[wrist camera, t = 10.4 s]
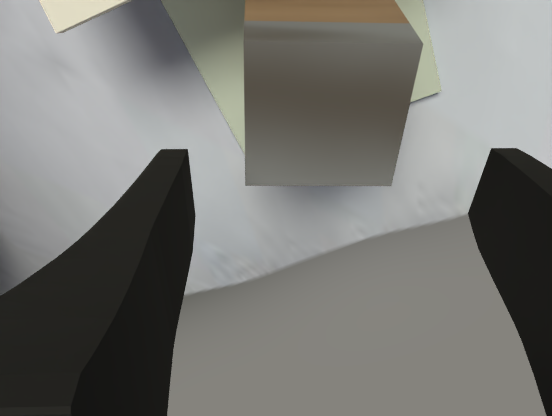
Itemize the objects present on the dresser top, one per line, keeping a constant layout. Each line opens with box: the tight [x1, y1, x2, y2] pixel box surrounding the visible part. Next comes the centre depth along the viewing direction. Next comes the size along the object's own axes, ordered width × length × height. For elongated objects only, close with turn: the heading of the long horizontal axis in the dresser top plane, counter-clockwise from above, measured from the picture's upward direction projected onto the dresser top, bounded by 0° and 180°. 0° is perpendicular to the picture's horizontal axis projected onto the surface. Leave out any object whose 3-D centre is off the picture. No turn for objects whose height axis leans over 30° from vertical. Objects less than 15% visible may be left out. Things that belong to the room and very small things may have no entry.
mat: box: [161, 0, 441, 154], centre depth 19 cm, size 9×9×1 cm
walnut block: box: [243, 0, 423, 186], centre depth 16 cm, size 4×4×7 cm
